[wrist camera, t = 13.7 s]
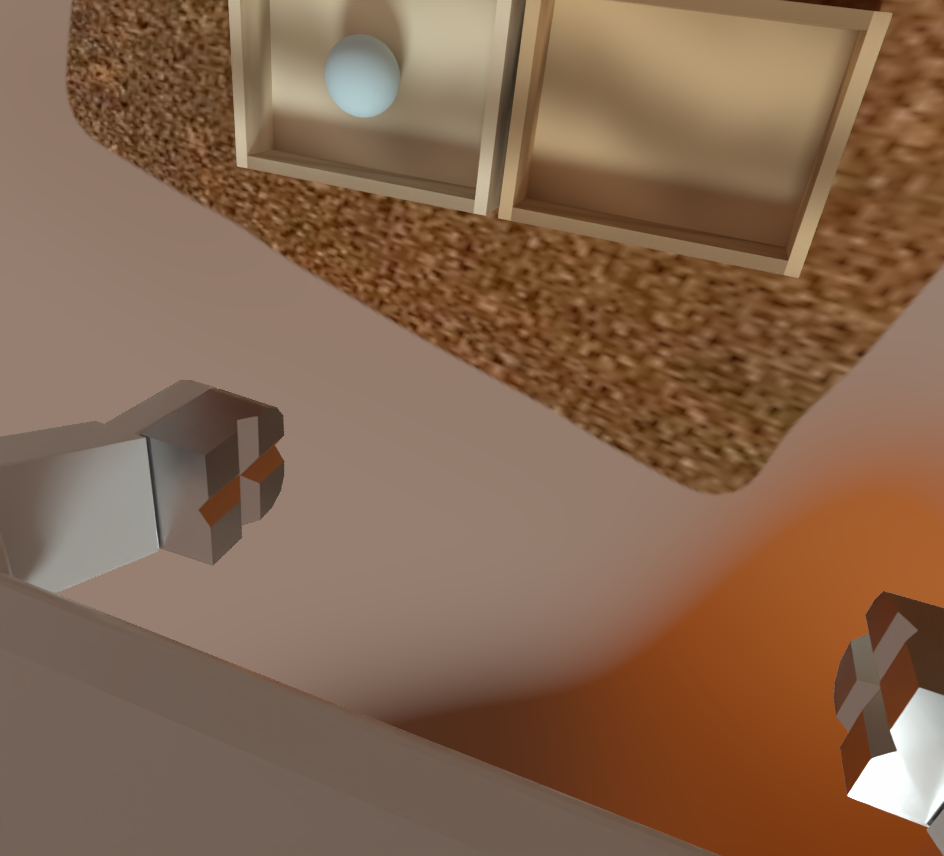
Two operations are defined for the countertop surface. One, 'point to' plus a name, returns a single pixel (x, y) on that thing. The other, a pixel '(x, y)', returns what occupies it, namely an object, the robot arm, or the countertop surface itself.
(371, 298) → the countertop surface
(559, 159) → the box near
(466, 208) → the box far
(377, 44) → the ball
